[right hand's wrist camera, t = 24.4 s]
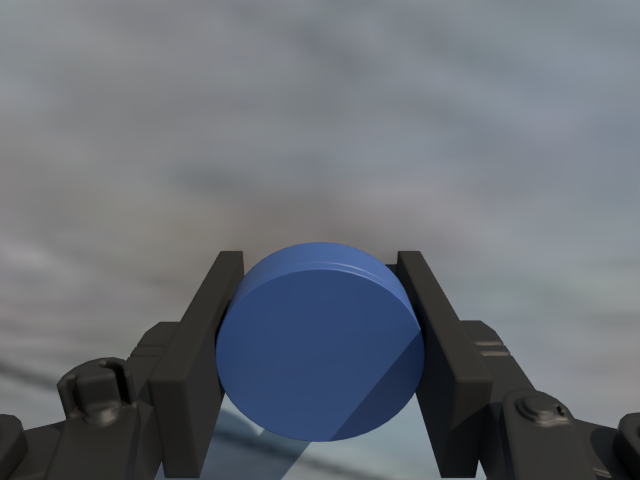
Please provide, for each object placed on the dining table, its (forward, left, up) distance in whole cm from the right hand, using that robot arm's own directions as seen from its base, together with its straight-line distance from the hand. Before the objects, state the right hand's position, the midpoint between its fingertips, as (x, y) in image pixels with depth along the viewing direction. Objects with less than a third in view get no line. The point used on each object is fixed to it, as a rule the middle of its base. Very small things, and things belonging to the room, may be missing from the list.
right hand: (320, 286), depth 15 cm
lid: (0, 0, +4) cm, 4 cm away
